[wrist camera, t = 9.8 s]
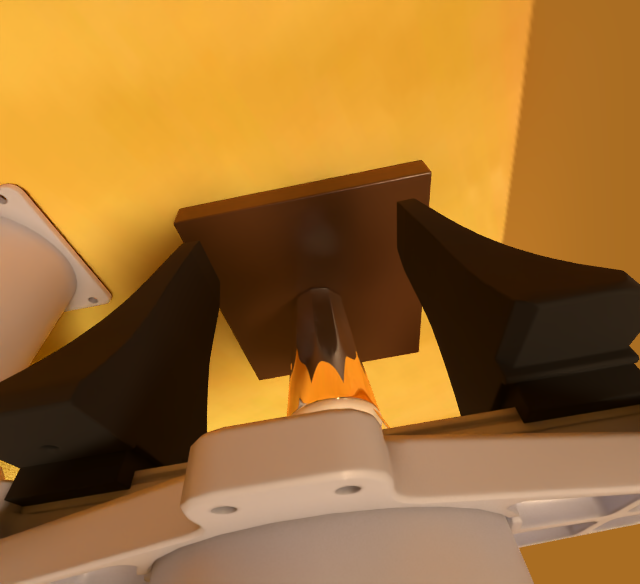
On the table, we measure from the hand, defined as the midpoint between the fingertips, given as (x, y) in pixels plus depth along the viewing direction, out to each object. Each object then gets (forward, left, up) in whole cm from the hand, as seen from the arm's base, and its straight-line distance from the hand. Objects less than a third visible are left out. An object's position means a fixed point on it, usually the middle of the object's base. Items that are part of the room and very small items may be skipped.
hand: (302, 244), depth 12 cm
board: (0, -8, -6) cm, 10 cm away
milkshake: (0, -8, -5) cm, 10 cm away
